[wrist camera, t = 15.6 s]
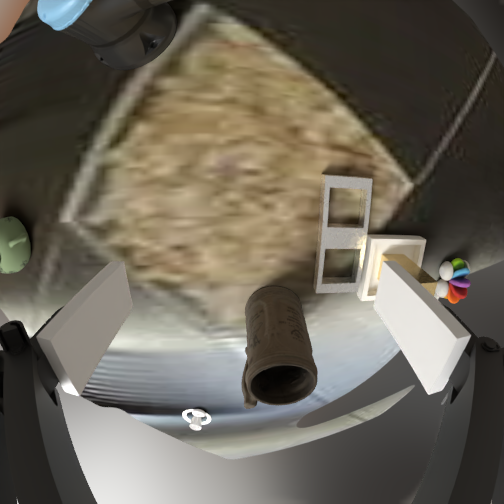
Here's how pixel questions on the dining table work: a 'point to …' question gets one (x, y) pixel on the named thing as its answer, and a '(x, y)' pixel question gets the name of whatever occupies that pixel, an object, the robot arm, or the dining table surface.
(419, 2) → the dining table surface
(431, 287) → the tan knobbed block
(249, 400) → the beer stein
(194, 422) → the white valve handwheel
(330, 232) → the gray rectangular frame
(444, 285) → the rainbow petal fan toy
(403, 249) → the parts tray
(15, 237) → the green dome pot
